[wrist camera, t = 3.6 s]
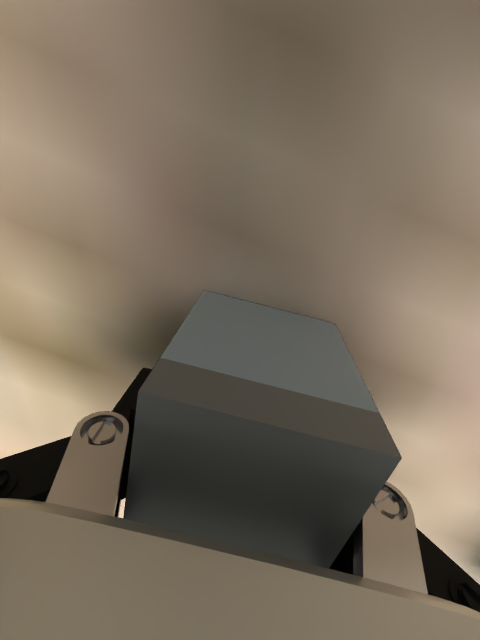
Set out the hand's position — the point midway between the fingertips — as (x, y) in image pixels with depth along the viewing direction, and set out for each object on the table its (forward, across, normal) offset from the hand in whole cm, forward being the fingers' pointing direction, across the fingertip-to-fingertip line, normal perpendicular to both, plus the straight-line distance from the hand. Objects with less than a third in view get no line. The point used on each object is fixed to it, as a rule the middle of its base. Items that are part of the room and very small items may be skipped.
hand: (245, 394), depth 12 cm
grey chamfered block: (+1, 0, 0) cm, 1 cm away
